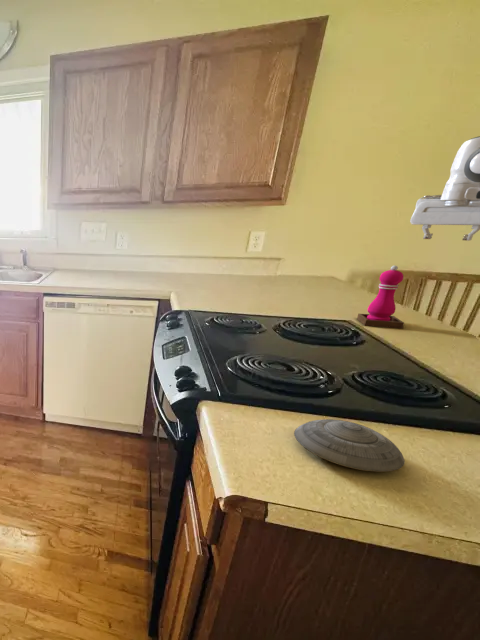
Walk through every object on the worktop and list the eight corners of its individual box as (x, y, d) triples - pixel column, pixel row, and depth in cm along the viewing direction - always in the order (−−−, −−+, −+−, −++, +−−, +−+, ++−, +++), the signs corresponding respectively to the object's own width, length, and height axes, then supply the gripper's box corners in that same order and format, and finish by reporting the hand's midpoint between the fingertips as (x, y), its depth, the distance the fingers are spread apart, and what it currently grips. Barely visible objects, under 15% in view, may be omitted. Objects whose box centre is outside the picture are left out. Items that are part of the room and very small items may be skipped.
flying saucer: (325, 423, 79) (332, 399, 77) (422, 465, 66) (433, 437, 64) (273, 440, 74) (279, 415, 73) (366, 488, 61) (377, 458, 59)
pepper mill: (378, 324, 139) (397, 267, 132) (358, 319, 146) (375, 264, 138) (396, 323, 140) (415, 266, 133) (375, 318, 146) (393, 263, 139)
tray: (392, 321, 144) (393, 315, 144) (402, 328, 136) (404, 322, 135) (356, 318, 149) (358, 313, 148) (364, 325, 141) (366, 319, 140)
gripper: (413, 195, 132) (400, 238, 137) (505, 192, 114) (486, 241, 119) (424, 195, 134) (410, 237, 139) (515, 192, 116) (496, 240, 121)
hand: (446, 239), depth 129 cm, fingers open, 8 cm apart
